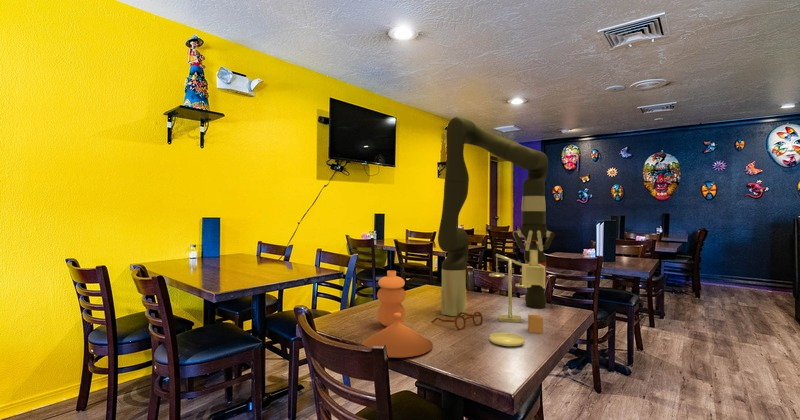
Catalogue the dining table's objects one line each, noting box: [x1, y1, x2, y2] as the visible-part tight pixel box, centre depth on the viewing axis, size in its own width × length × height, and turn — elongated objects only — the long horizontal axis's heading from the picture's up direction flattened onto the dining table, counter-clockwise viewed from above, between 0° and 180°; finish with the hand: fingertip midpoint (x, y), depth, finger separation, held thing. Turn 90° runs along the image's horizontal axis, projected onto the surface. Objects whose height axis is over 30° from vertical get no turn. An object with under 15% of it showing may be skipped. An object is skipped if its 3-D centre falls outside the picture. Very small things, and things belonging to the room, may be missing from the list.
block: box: [527, 314, 544, 334], centre depth 126 cm, size 4×4×5 cm
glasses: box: [430, 311, 484, 331], centre depth 135 cm, size 13×13×5 cm
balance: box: [488, 253, 531, 323], centre depth 139 cm, size 15×6×24 cm, turn 82°
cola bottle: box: [524, 240, 547, 309], centre depth 159 cm, size 8×8×30 cm
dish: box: [489, 331, 525, 347], centre depth 115 cm, size 10×10×2 cm
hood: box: [521, 250, 546, 290], centre depth 126 cm, size 6×6×12 cm
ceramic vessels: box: [361, 270, 434, 359], centre depth 120 cm, size 35×21×19 cm, turn 7°
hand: (533, 261), depth 126 cm, fingers closed on hood, 3 cm apart
